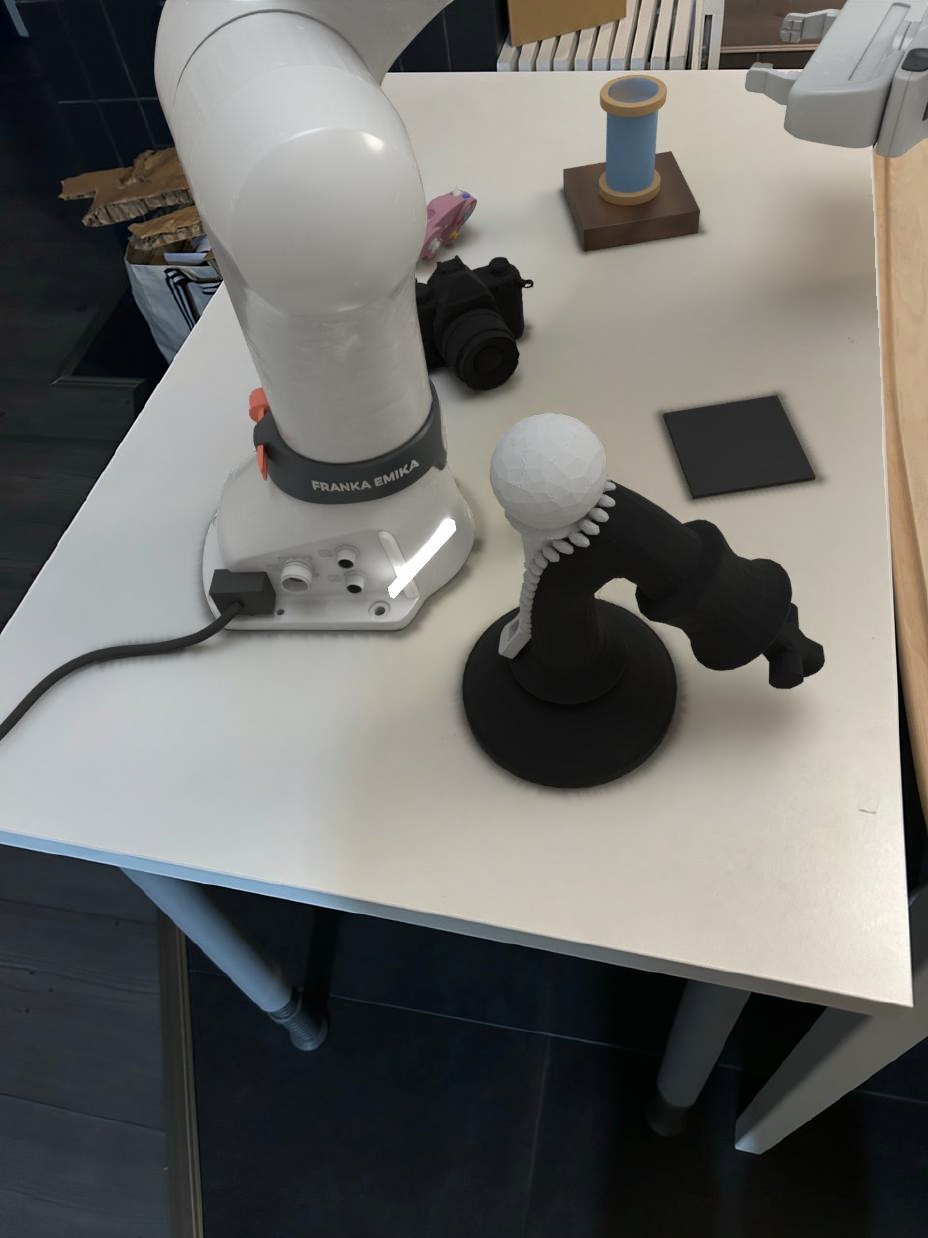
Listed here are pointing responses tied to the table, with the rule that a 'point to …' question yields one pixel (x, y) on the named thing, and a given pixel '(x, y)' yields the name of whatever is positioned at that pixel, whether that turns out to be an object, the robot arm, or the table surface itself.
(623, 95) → the spool
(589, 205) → the platform
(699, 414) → the coaster
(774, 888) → the table surface
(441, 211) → the pink toy car
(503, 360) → the film camera
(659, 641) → the sculpture
